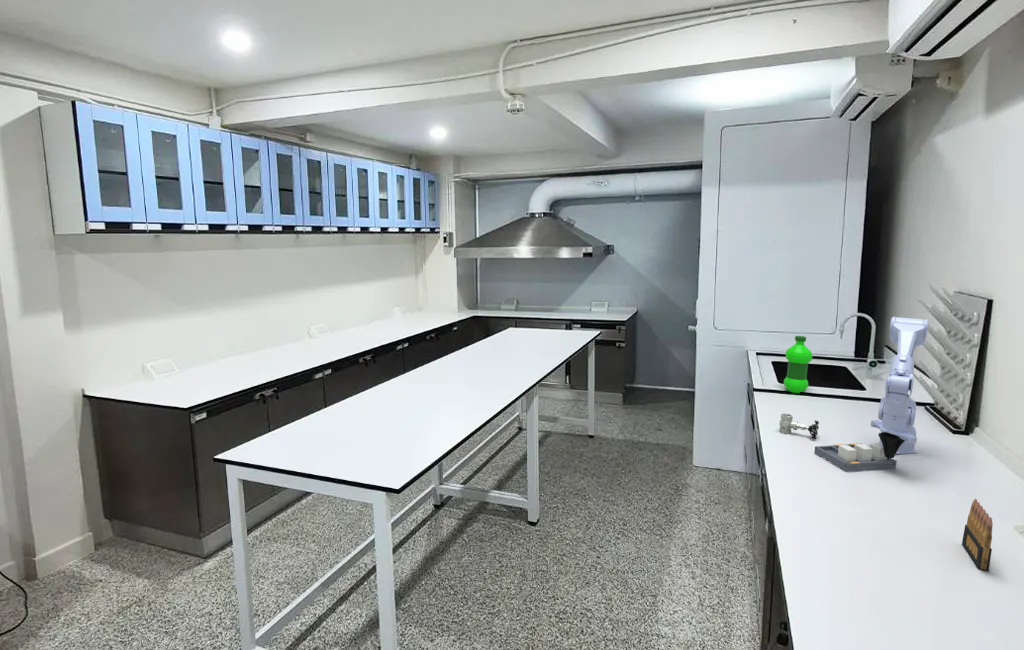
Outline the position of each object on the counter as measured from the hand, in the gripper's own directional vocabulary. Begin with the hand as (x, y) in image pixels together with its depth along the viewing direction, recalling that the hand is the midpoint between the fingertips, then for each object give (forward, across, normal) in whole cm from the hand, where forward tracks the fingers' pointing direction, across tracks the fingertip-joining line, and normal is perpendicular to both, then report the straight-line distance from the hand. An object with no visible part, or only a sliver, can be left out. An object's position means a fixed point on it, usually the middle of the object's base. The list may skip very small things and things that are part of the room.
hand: (889, 457), depth 169 cm
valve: (+4, -30, -8) cm, 31 cm away
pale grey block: (+3, -4, 0) cm, 5 cm away
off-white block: (+2, -4, -5) cm, 7 cm away
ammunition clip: (+4, +43, -19) cm, 47 cm away
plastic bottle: (+4, -77, +26) cm, 82 cm away
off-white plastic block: (+2, -4, -11) cm, 12 cm away
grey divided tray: (+4, -7, -6) cm, 10 cm away
